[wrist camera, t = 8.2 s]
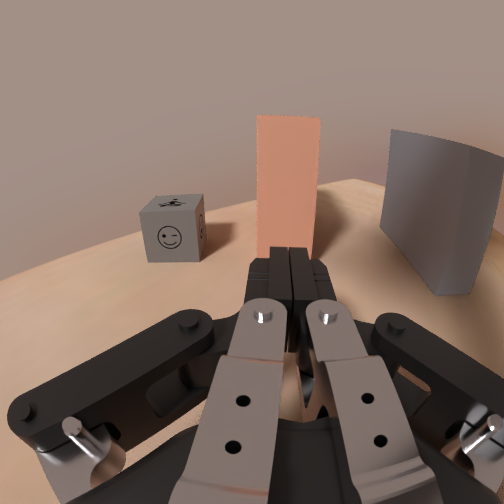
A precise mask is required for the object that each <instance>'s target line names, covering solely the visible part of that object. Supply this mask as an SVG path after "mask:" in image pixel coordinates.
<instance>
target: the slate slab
mask: <svg viewBox="0 0 504 504" xmlns="http://www.w3.org/2000/svg"><path fill="white" fill-rule="evenodd" d="M503 173H504V158H503V157H500V156H498V155H495V154H492V153H490V152H487V151H484V150H481V149H479V148H476V147H472V146H469V145H466V144H462V143H458V142H454V141H450V140H445V139H441V138H437V137H432V136H427V135H422V134H417V133H411V132H406V131H400V130H393V129H391V137H390V151H389V163H388V171H387V180H386V188H385V196H384V203H383V209H382V215H381V221H380V228H381V229H382V230H383V231H384V232H385V233H386V235H387V236H388V237H389V238H390V239H391V240H392V242H393V243H394V244H395V245H396V246H397V248H398V249H399V250H400V251H401V252H402V254H403V255H404V256H405V257H406V259H407V260H408V261H409V262H410V264H411V265H412V266H413V267H414V269H415V270H416V271H417V273H418V274H419V275H420V277H421V278H422V279H423V281H424V282H425V283H426V285H427V286H428V287H429V289H430V290H431V291H432V293H433V294H434V296H443V295H458V294H470V291H471V289H472V286H473V284H474V281H475V279H476V276H477V274H478V271H479V268H480V265H481V262H482V260H483V257H484V254H485V250H486V247H487V244H488V241H489V237H490V234H491V230H492V226H493V222H494V218H495V215H496V210H497V206H498V201H499V196H500V190H501V185H502V179H503Z"/></svg>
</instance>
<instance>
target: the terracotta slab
mask: <svg viewBox="0 0 504 504" xmlns="http://www.w3.org/2000/svg"><path fill="white" fill-rule="evenodd" d="M319 143H320V118H316V117H303V116H281V115H257V258H269V253H270V246H277V247H288V249H289V247H306V248H307V250H308V255H309V259H310V260H311V254H312V244H313V234H314V223H315V211H316V198H317V182H318V166H319V145H320V144H319Z"/></svg>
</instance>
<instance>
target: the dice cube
mask: <svg viewBox="0 0 504 504" xmlns="http://www.w3.org/2000/svg"><path fill="white" fill-rule="evenodd" d="M139 215H140V221H141V227H142V233H143V239H144V244H145V250H146V255H147V260H148V262H200V259H201V256H202V252H203V249H204V245H205V242H206V227H205V213H204V199H203V194H189V195H170V196H156V197H155V198H154V199H153V200H152V201H150V202H149V203H148V205H146V206H145V207H144V208H143V209H142V211H140V212H139Z"/></svg>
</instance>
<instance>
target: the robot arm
mask: <svg viewBox="0 0 504 504" xmlns="http://www.w3.org/2000/svg"><path fill="white" fill-rule="evenodd" d="M287 343H288V352H289V353H296V364H297V367H296V374H297V380H298V387H299V394H300V401H301V408H302V423H299V422H294V421H289V420H285V419H280V418H278V416H279V407H280V397H281V387H282V377H283V365H284V361H283V359H284V352H286V351H287ZM400 365H401V366H402V367H403V368H405V369H406V370H408V371H409V372H411V373H412V374H414V375H415V376H416V377H418V378H419V379H421V380H422V381H424V382H425V383H426V384H428V385H429V387H430V389H431V391H430V392H427V391H424V390H422V389H421V388H419V387H418V386H416V385H415V384H414V383H412V382H411V381H409V380H408V379H407V378H405V377H404V376H402V375H401V374H399V373H398V372H397V371H398V369H399V367H400ZM206 398H207V400H206V403H205V406H204V410H203V413H202V416H201V419H200V422H199V424H198V425H195V426H192V427H190V428H187V429H185V430H183V431H181V432H179V433H178V434H176V435H174V436H173V437H171V438H170V439H169V440H167V441H166V442H165V443H163V444H162V445H160V446H159V447H158V448H156V449H155V450H153V451H152V452H150V453H149V454H148V455H146V456H145V457H143V458H142V459H140V460H139V461H137V462H136V463H134V464H133V465H131V466H130V467H128V468H126V469H125V470H123V471H122V469H123V467H124V465H125V462H126V453H125V452H127V451H129V450H130V449H132V448H134V447H135V446H137V445H139V444H140V443H142V442H143V441H145V440H147V439H148V438H150V437H151V436H153V435H154V434H156V433H158V432H159V431H161V430H162V429H164V428H165V427H167V426H168V425H170V424H171V423H173V422H174V421H175V420H177V419H178V418H180V417H181V416H183V415H184V414H186V413H187V412H188V411H190V410H191V409H193V408H194V407H195V406H197V405H198V404H200V403H201V402H202V401H204V400H205V399H206ZM7 421H8V425H9V427H10V429H11V430H12V431H13V432H14V433H15V434H16V435H17V436H18V437H19V438H20V439H22V440H23V441H24V442H25V443H26V444H28V445H29V446H30V447H31V448H33V449H34V450H35V452H36V454H37V456H38V459H39V461H40V463H41V466H42V468H43V470H44V472H45V474H46V477H47V479H48V481H49V483H50V485H51V487H52V489H53V491H54V492H55V494H56V496H57V498H58V500H59V502H60V503H61V504H502V503H501V501H500V499H499V497H498V495H497V494H496V492H497V490H498V488H499V486H500V484H501V482H502V480H503V478H504V379H503V378H501V377H500V376H498V375H497V374H495V373H494V372H492V371H491V370H489V369H488V368H486V367H485V366H483V365H482V364H480V363H479V362H477V361H476V360H474V359H472V358H471V357H469V356H468V355H466V354H465V353H463V352H462V351H460V350H458V349H457V348H455V347H454V346H452V345H451V344H449V343H447V342H446V341H444V340H443V339H441V338H439V337H438V336H436V335H435V334H433V333H431V332H430V331H428V330H427V329H425V328H423V327H422V326H420V325H419V324H417V323H415V322H414V321H412V320H410V319H409V318H407V317H405V316H403V315H401V314H398V313H384V314H382V315H380V316H379V317H378V318H377V319H376V321H375V324H371V323H366V322H361V321H357V320H354V319H353V318H352V316H351V313H350V311H349V310H348V308H347V307H346V306H344V305H343V304H341V303H339V302H337V299H336V296H335V293H334V289H333V286H332V283H331V280H330V276H329V273H328V270H327V267H326V266H325V265H324V264H323V263H322V262H321V261H320V260H310V259H309V255H308V250H307V248H306V247H289V249H288V247H277V246H270V253H269V258H255V259H254V260H253V262H252V263H251V264H250V267H249V273H248V280H247V286H246V293H245V299H244V304H243V306H242V307H241V309H240V311H239V312H237V313H236V314H234V315H232V316H230V317H227V318H223V319H217V320H212V318H211V317H210V315H208V314H207V313H205V312H203V311H201V310H196V309H188V310H182V311H179V312H177V313H175V314H173V315H171V316H169V317H167V318H166V319H164V320H162V321H160V322H158V323H156V324H155V325H153V326H151V327H149V328H147V329H145V330H144V331H142V332H140V333H138V334H136V335H134V336H133V337H131V338H129V339H127V340H125V341H123V342H121V343H120V344H118V345H116V346H114V347H112V348H110V349H108V350H107V351H105V352H103V353H101V354H99V355H97V356H95V357H93V358H91V359H90V360H88V361H86V362H84V363H82V364H80V365H78V366H76V367H74V368H72V369H71V370H69V371H67V372H65V373H63V374H61V375H59V376H57V377H55V378H53V379H51V380H49V381H47V382H46V383H44V384H42V385H40V386H38V387H36V388H34V389H32V390H30V391H28V392H26V393H24V394H22V395H20V396H18V397H17V398H16V399H15V400H14V401H13V402H12V403H11V405H10V407H9V409H8V414H7ZM121 471H122V472H121ZM119 472H120V473H119ZM116 474H117V475H116Z"/></svg>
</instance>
